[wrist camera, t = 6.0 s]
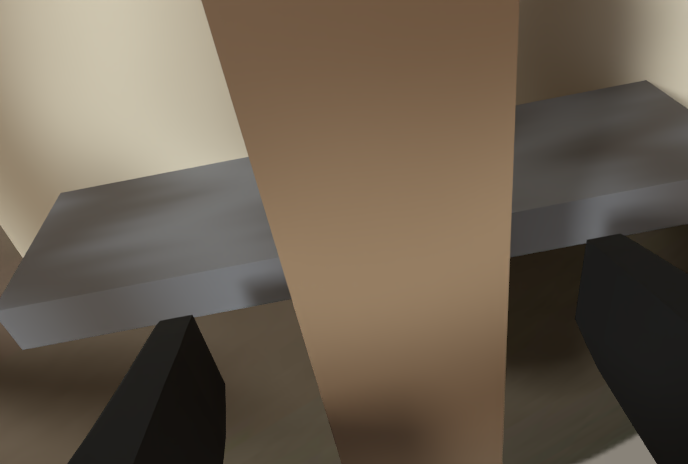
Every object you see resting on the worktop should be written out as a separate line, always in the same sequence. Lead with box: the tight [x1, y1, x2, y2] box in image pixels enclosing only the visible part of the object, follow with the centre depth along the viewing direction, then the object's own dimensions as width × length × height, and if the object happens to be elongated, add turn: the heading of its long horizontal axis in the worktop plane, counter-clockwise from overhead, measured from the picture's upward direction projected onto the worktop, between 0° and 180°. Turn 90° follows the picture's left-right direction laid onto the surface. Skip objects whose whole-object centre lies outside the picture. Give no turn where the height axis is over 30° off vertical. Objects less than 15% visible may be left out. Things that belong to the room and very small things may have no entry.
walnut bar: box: [201, 0, 520, 464], centre depth 10 cm, size 16×3×4 cm, turn 9°
